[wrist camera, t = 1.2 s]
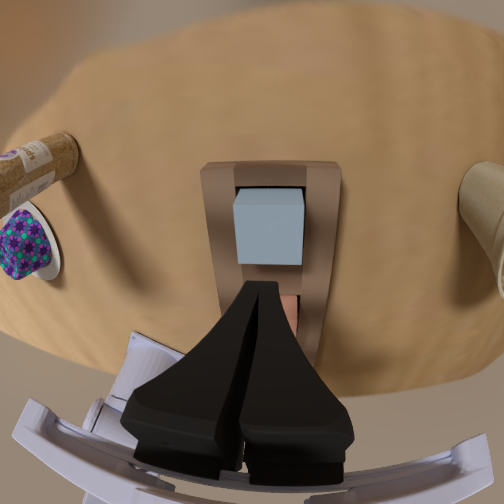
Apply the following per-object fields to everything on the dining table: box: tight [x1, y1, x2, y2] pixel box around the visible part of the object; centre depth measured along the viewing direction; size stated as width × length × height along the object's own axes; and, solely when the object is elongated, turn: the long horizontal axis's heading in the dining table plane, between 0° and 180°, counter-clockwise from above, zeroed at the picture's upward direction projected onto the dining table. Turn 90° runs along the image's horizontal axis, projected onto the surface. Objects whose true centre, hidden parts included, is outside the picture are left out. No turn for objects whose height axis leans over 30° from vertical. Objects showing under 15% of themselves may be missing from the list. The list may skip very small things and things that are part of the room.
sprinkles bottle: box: [0, 131, 79, 219], centre depth 13 cm, size 5×5×13 cm
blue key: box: [233, 188, 304, 265], centre depth 17 cm, size 4×4×3 cm
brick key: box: [280, 295, 297, 338], centre depth 22 cm, size 4×4×3 cm
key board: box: [200, 161, 341, 368], centre depth 24 cm, size 25×9×2 cm, turn 3°
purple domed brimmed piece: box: [0, 201, 60, 280], centre depth 23 cm, size 12×12×5 cm
